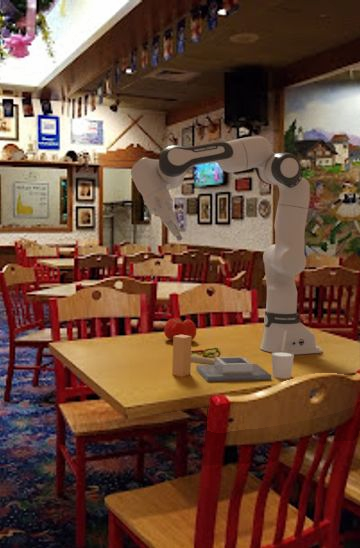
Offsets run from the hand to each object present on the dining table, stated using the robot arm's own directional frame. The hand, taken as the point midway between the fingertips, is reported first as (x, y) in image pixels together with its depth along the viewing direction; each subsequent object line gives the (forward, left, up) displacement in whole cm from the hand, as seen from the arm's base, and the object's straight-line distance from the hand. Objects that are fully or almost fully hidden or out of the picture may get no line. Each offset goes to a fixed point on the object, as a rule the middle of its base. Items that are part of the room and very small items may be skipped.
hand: (178, 237), depth 214 cm
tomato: (-8, -29, -41) cm, 51 cm away
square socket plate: (-14, +22, -41) cm, 49 cm away
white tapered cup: (-29, +25, -41) cm, 56 cm away
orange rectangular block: (+2, +20, -41) cm, 46 cm away
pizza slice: (-12, -3, -42) cm, 44 cm away
